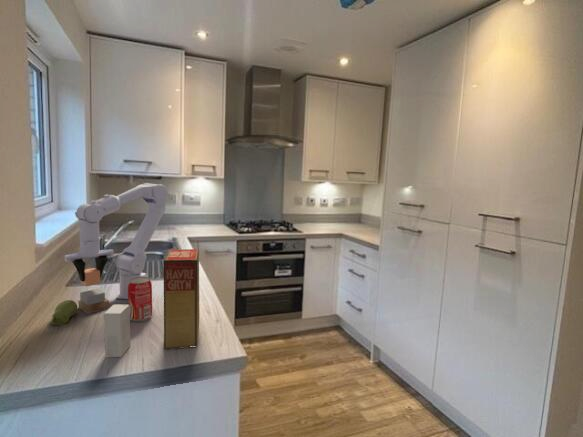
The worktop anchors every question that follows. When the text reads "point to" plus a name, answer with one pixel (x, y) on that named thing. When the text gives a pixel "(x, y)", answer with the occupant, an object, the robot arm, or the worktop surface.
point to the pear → (64, 312)
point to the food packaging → (181, 298)
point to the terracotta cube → (91, 277)
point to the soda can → (140, 298)
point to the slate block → (92, 296)
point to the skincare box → (117, 330)
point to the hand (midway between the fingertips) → (90, 279)
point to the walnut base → (93, 306)
